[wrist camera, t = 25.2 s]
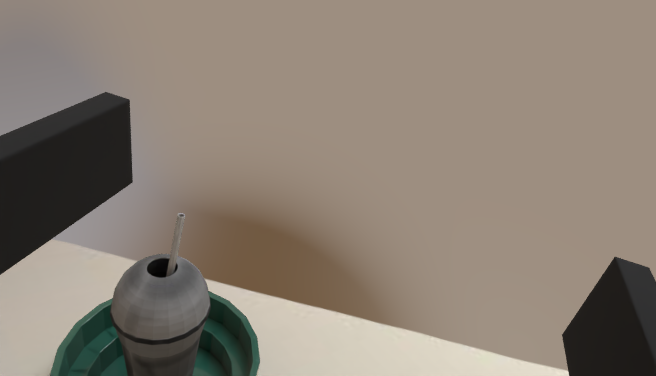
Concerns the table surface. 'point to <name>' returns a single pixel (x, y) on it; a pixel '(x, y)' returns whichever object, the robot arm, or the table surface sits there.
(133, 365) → the beverage cup
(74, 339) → the green pet bowl
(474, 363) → the table surface
